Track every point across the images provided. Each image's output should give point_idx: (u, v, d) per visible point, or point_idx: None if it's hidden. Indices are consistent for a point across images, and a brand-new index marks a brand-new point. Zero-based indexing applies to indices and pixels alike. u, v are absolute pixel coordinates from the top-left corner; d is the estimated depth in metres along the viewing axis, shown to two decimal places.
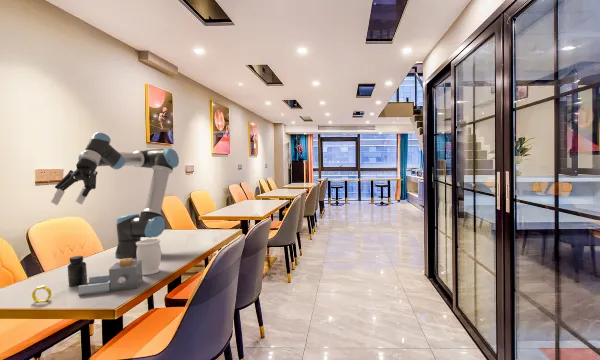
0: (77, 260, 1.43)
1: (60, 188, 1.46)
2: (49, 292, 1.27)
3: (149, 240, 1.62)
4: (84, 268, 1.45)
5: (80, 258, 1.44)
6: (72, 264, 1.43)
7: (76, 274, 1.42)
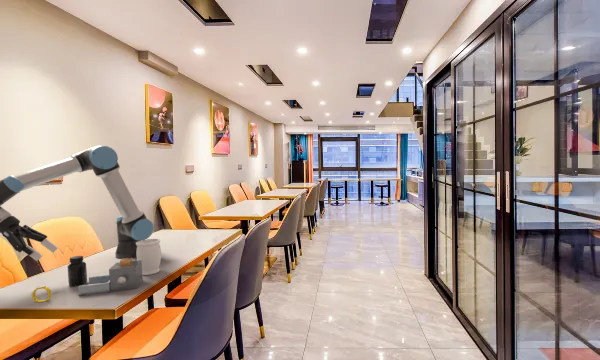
0: (77, 260, 1.43)
1: (41, 241, 1.48)
2: (49, 292, 1.27)
3: (149, 240, 1.62)
4: (84, 268, 1.45)
5: (80, 258, 1.44)
6: (72, 264, 1.43)
7: (76, 274, 1.42)
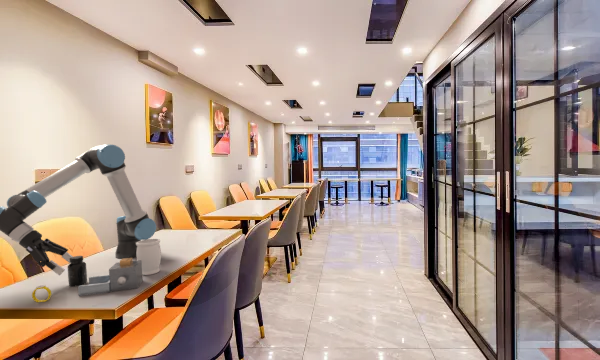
0: (77, 260, 1.43)
1: (62, 254, 1.49)
2: (49, 292, 1.27)
3: (149, 240, 1.62)
4: (84, 268, 1.45)
5: (80, 258, 1.44)
6: (72, 264, 1.43)
7: (76, 274, 1.42)
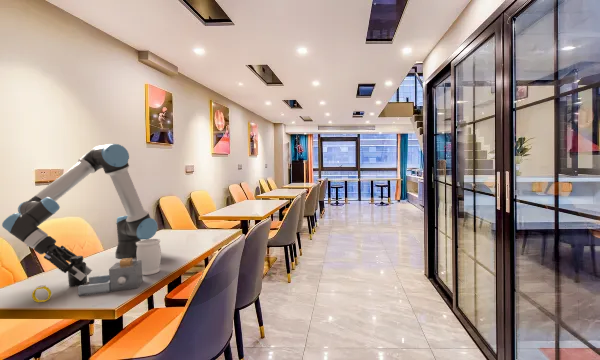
0: (77, 260, 1.43)
1: None
2: (49, 292, 1.27)
3: (149, 240, 1.62)
4: (84, 268, 1.45)
5: (80, 258, 1.44)
6: (72, 264, 1.43)
7: None
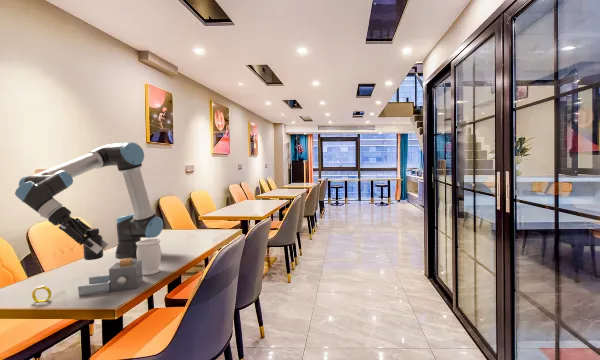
0: (93, 232, 1.35)
1: None
2: (49, 292, 1.27)
3: (149, 240, 1.62)
4: (100, 241, 1.37)
5: (96, 230, 1.36)
6: (88, 236, 1.35)
7: None
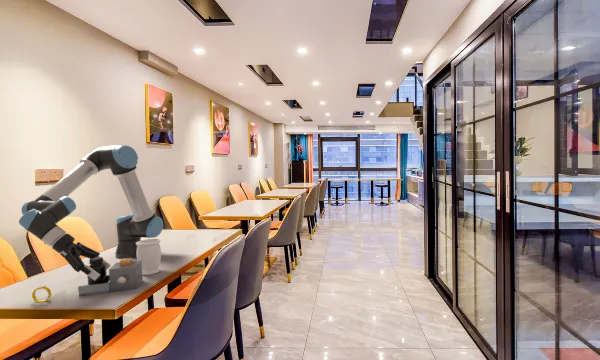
0: (97, 261, 1.36)
1: None
2: (49, 292, 1.27)
3: (149, 240, 1.62)
4: (104, 270, 1.38)
5: (100, 260, 1.37)
6: (92, 266, 1.35)
7: None
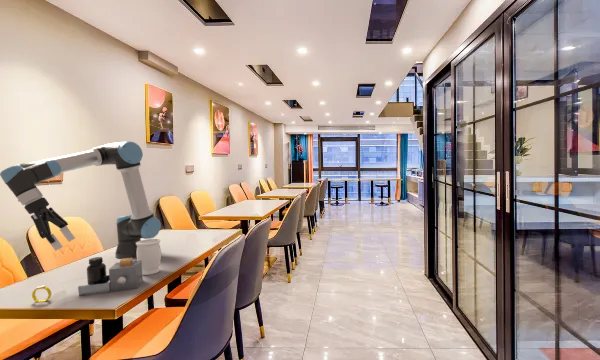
0: (97, 261, 1.36)
1: (60, 227, 1.45)
2: (49, 292, 1.27)
3: (149, 240, 1.62)
4: (104, 270, 1.38)
5: (100, 260, 1.37)
6: (91, 266, 1.35)
7: (96, 276, 1.35)
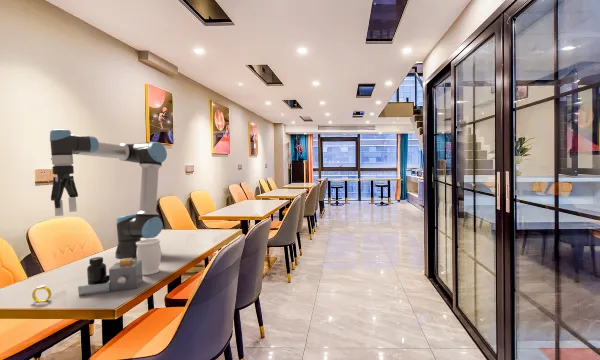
0: (97, 261, 1.36)
1: (70, 196, 1.53)
2: (49, 292, 1.27)
3: (149, 240, 1.62)
4: (104, 270, 1.38)
5: (100, 260, 1.37)
6: (92, 266, 1.36)
7: (96, 276, 1.35)
